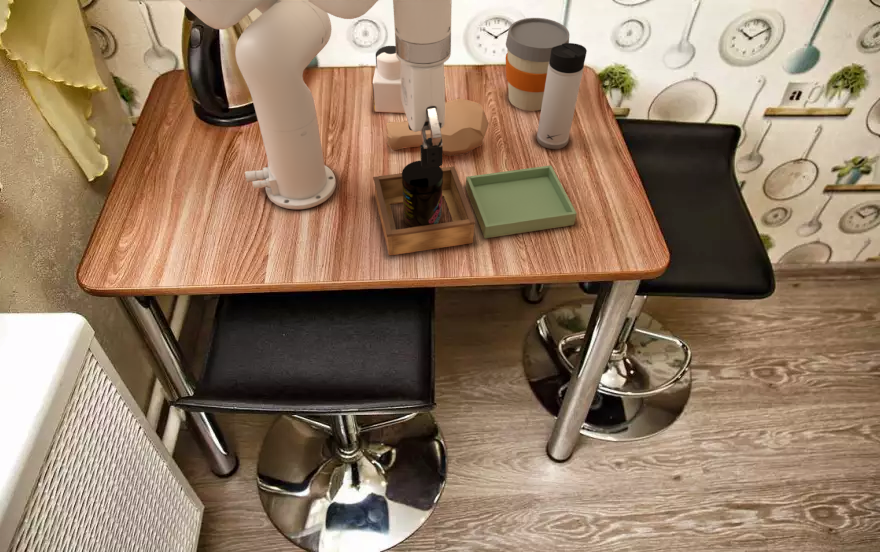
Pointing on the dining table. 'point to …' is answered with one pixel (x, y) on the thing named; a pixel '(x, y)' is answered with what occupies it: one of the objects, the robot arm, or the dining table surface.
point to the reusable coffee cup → (531, 59)
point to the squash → (446, 129)
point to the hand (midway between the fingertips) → (425, 146)
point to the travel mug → (560, 94)
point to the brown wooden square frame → (429, 235)
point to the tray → (519, 201)
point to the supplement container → (422, 194)
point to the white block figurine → (387, 81)
